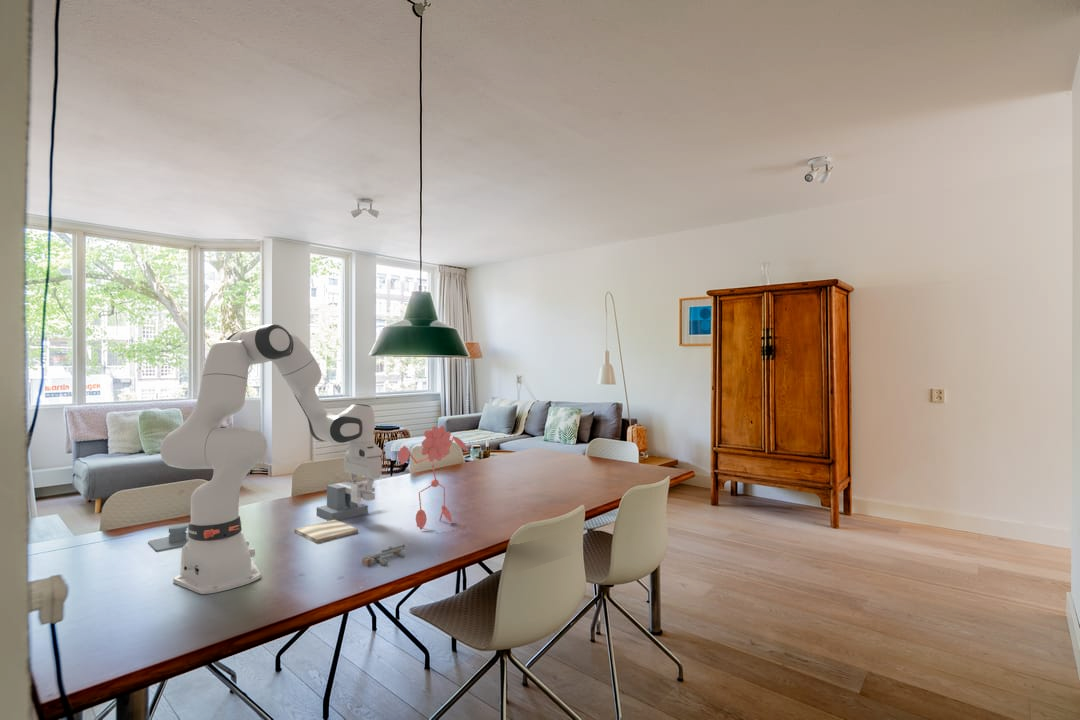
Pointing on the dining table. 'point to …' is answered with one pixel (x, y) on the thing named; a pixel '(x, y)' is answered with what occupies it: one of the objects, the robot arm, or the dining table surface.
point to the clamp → (383, 561)
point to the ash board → (326, 531)
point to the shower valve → (171, 538)
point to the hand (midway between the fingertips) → (361, 487)
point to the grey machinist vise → (343, 503)
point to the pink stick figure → (435, 448)
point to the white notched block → (358, 491)
